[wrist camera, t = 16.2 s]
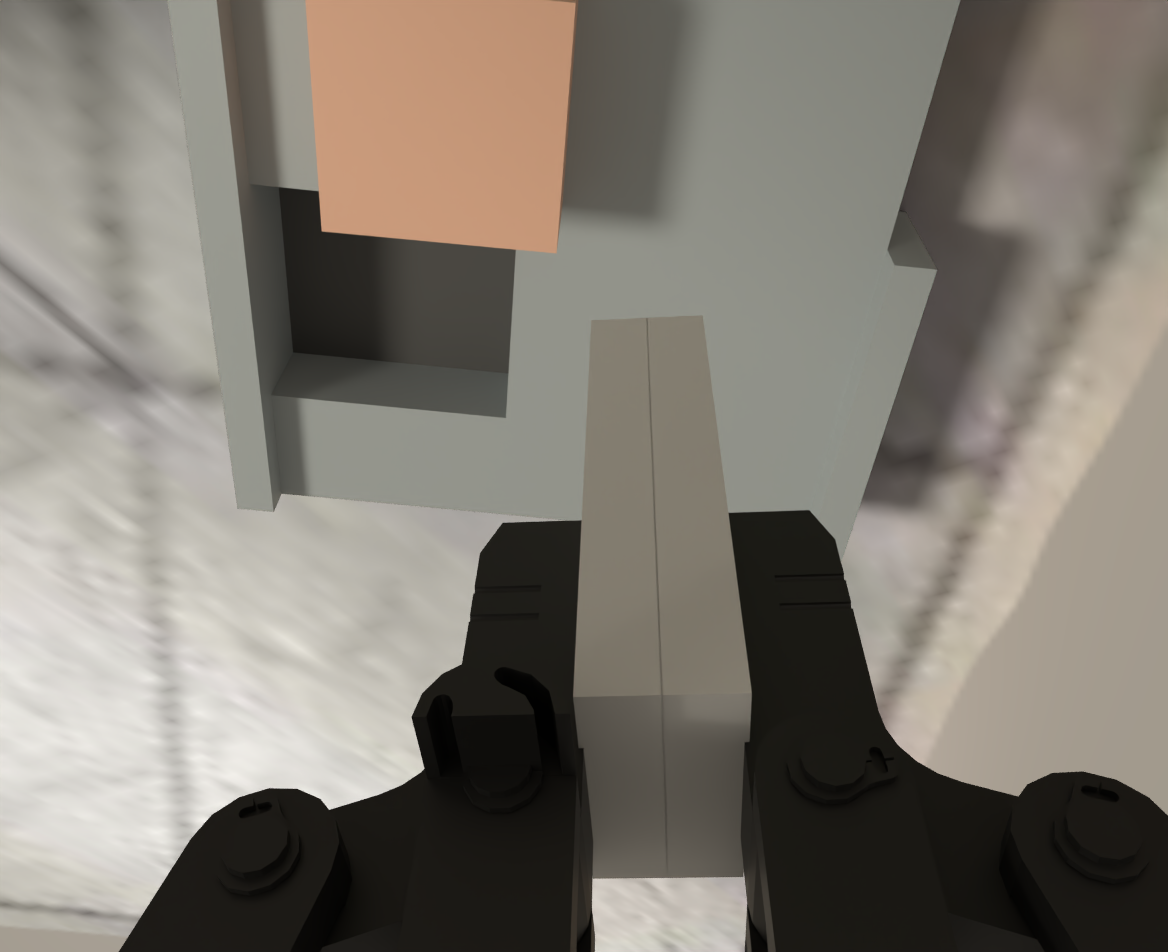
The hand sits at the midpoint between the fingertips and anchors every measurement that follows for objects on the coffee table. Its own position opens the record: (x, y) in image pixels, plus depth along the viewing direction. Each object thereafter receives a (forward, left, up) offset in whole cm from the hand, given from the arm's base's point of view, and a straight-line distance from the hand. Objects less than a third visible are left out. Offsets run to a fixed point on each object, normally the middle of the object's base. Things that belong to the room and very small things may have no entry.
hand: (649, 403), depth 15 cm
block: (-5, -1, -15) cm, 16 cm away
